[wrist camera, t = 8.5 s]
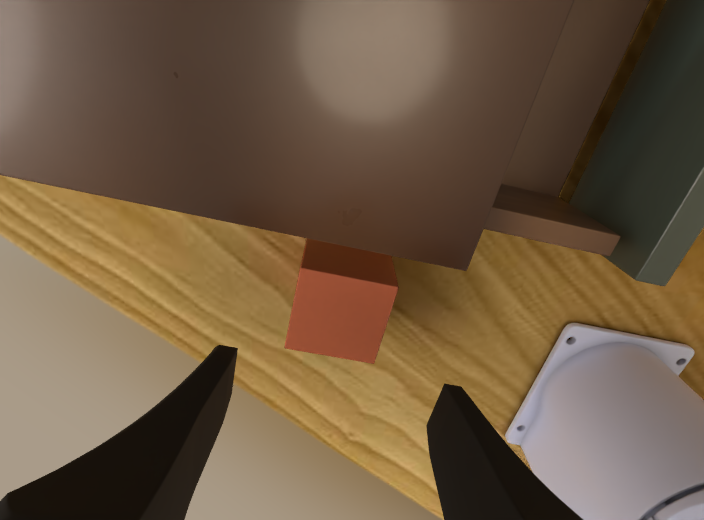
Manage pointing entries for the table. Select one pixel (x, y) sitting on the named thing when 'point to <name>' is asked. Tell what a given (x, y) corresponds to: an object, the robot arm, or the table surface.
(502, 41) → the cabinet
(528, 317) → the table surface
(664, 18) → the drawer
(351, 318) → the block
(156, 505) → the robot arm
